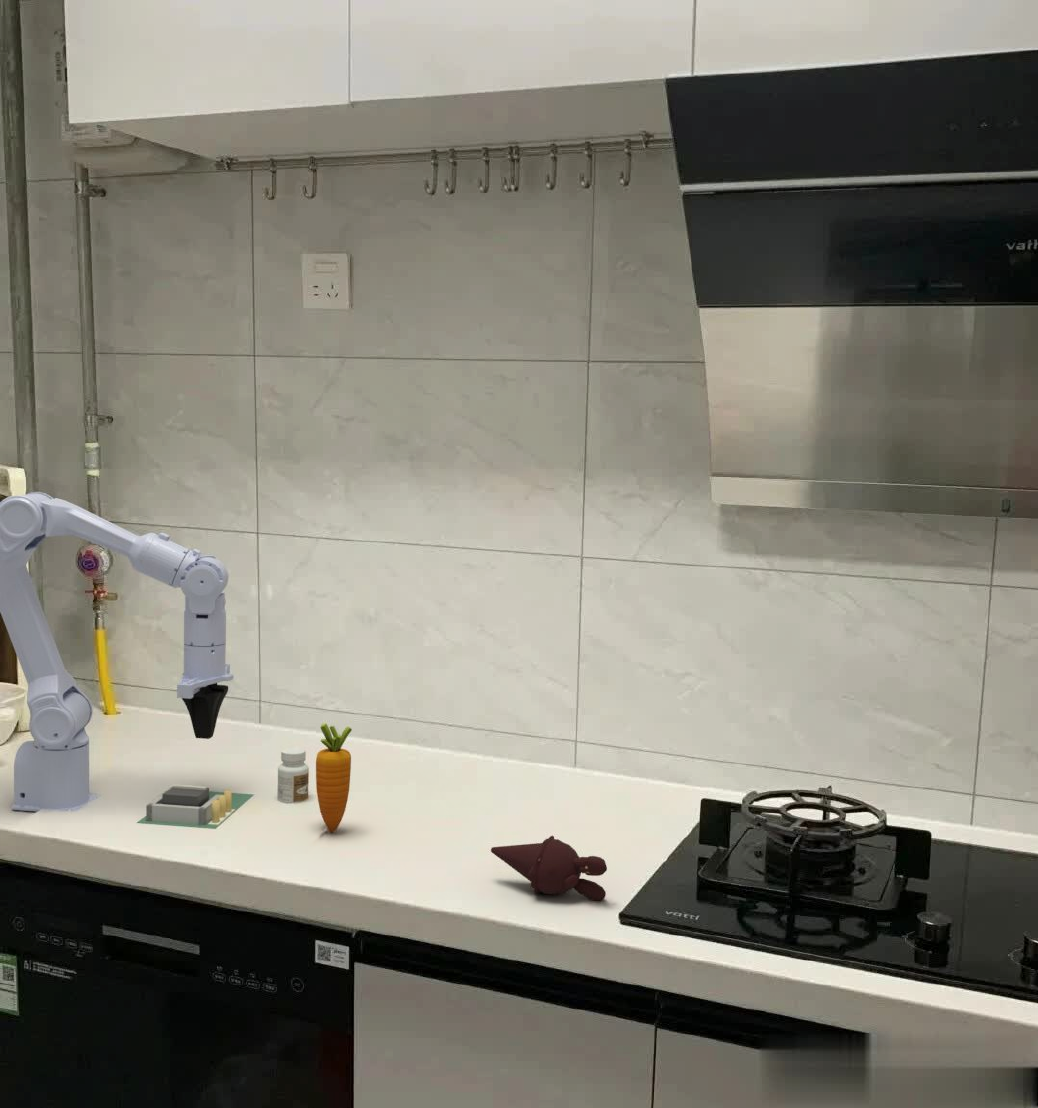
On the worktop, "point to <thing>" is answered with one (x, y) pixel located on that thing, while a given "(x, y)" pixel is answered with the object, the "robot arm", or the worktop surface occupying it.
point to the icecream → (554, 867)
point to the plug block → (186, 795)
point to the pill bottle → (293, 776)
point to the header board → (195, 811)
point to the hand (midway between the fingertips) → (204, 737)
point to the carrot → (333, 777)
